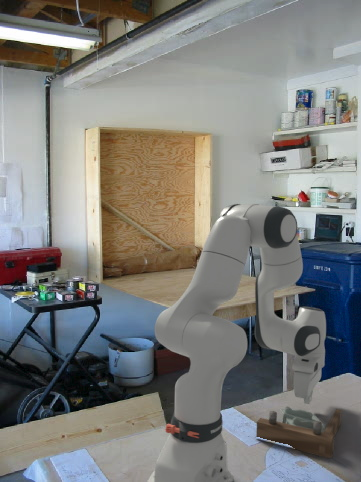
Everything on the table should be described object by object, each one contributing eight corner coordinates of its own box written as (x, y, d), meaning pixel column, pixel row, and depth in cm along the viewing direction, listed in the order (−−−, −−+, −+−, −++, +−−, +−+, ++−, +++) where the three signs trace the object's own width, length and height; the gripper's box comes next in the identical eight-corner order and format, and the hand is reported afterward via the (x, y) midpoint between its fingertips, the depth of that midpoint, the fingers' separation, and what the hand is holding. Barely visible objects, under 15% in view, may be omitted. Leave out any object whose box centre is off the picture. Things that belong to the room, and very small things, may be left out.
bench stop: (330, 458, 128) (332, 428, 127) (256, 439, 138) (257, 411, 137) (346, 423, 148) (347, 397, 147) (279, 409, 157) (280, 384, 156)
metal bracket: (293, 422, 136) (276, 399, 151) (286, 442, 137) (271, 417, 151) (341, 434, 138) (320, 410, 153) (334, 454, 138) (314, 428, 153)
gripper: (307, 348, 165) (305, 388, 166) (290, 366, 147) (288, 411, 148) (327, 351, 162) (325, 392, 163) (312, 370, 144) (310, 416, 145)
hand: (307, 402), depth 155 cm, fingers closed
